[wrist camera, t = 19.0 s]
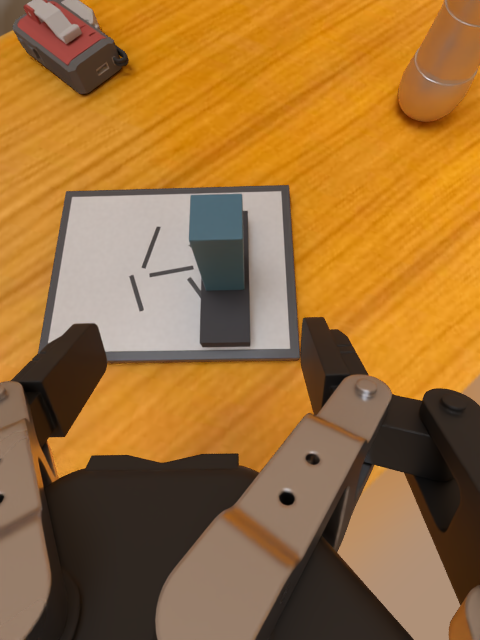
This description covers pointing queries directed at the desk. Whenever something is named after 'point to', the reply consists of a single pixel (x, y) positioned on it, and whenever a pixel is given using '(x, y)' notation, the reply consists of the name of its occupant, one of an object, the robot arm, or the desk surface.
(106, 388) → the desk surface
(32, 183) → the desk surface
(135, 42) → the desk surface
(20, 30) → the walkie-talkie
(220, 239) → the eraser
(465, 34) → the plastic bottle
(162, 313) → the whiteboard
